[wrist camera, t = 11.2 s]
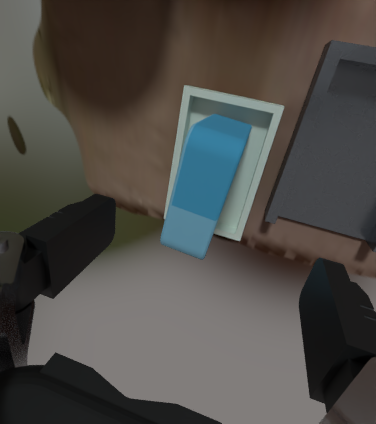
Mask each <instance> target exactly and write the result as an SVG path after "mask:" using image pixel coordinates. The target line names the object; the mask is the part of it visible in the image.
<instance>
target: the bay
mask: <svg viewBox="0 0 376 424" xmlns="http://www.w3.org/2000/svg"><path fill="white" fill-rule="evenodd" d="M278 216H281V217H284V218H288V219H291V220H295V221H299V222H302V223H306V224H309V225H313V226H317V227H320V228H324V229H327V230H331V231H335V232H338V233H342V234H345V235H349V236H353V237H356V238H360V239H363V240H366V242H367V243H368V245H369V246H370V248H371V249H372V251H373V252H376V47H370V46H364V45H358V44H352V43H346V42H340V41H334V40H331V41H330V42H329V43H327V44H326V45H325V47H324V50H323V52H322V55H321V58H320V61H319V63H318V66H317V69H316V72H315V74H314V77H313V80H312V83H311V85H310V88H309V91H308V94H307V96H306V99H305V102H304V105H303V107H302V110H301V113H300V116H299V118H298V121H297V124H296V127H295V129H294V132H293V135H292V138H291V140H290V143H289V146H288V149H287V152H286V154H285V157H284V160H283V163H282V165H281V168H280V171H279V174H278V176H277V179H276V182H275V185H274V187H273V190H272V193H271V196H270V198H269V201H268V204H267V207H266V209H265V221H267V222H270V223H274V224H275V222H276V220H277V217H278Z"/></svg>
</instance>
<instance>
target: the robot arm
mask: <svg viewBox="0 0 376 424" xmlns="http://www.w3.org/2000/svg"><path fill="white" fill-rule="evenodd" d="M115 212H116V203H115V200H114V199H113V198H110V197H107V196H103V195H99V194H94V195H92V196H90V197H89V198H87V199H85V200H84V201H82V202H77V203H74V204H70V205H67V206H66V207H64V208H62V209H60V210H59V211H58V212H55V213H53V214H52V215H50V217H46V218H45V219H43V220H41V221H39V222H38V223H36V224H34V225H32V226H31V227H29V228H27V229H25V230H24V231H22V232H20V233H15V232H8V231H2V232H0V424H222V423H220V422H218V421H216V420H213V419H211V418H209V417H206V416H204V415H202V414H199V413H197V412H194V411H192V410H190V409H188V408H185V407H183V406H180V405H178V404H173V403H163V402H154V401H146V400H138V399H130V398H127V397H125V396H124V395H123V394H122V393H121V392H119V391H118V390H117V389H116V388H115V387H114V386H112V385H111V384H110V383H109V382H108V381H107V380H105V379H104V378H103V377H102V376H101V375H100V374H99V373H97V372H96V371H95V370H94V369H93V368H91V367H88V366H86V365H84V364H82V363H79V362H77V361H74V360H72V359H70V358H67V357H65V356H63V355H60V354H58V353H55V354H54V355H53V356H52V357H51V358H50V360H49V361H48V362H47V363H46V364H45V365H28V366H27V354H28V347H29V340H30V334H31V328H32V320H33V314H34V309H35V301H34V299H35V298H36V297H37V296H38V295H39V294H42V295H44V296H47V297H50V298H52V299H54V298H55V297H56V296H57V295H58V294H59V293H60V292H61V291H62V290H63V289H64V288H65V287H66V286H67V285H68V284H69V283H70V282H71V281H72V280H73V279H74V278H75V277H76V276H77V275H79V274H80V273H81V272H82V271H83V270H84V269H85V268H86V267H87V266H88V265H89V264H90V263H91V262H92V261H93V260H94V259H95V258H96V257H97V256H98V255H99V254H100V253H101V252H102V251H103V250H105V249H106V248H107V247H108V246H109V244H110V243H111V242H112V240H113V237H114V234H115ZM299 312H300V320H301V328H302V337H303V345H304V353H305V362H306V370H307V378H308V387H309V395H310V398H311V399H314V400H316V401H319V402H322V403H324V404H325V406H326V412H327V414H326V415H325V417H324V418H323V419H322V420H321V422H320V423H319V424H376V312H375V311H374V308H373V305H372V303H371V301H370V299H369V297H368V295H367V294H366V293H365V292H364V291H363V290H362V289H361V287H360V286H359V285H358V284H357V283H354V282H351V281H350V279H349V276H348V274H347V271H346V269H345V267H344V265H343V264H340V263H337V262H333V261H330V260H326V259H323V258H319V259H317V261H316V262H315V264H314V266H313V268H312V270H311V272H310V274H309V276H308V279H307V280H306V283H305V285H304V287H303V289H302V291H301V294H300V298H299Z"/></svg>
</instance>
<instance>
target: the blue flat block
mask: <svg viewBox="0 0 376 424" xmlns="http://www.w3.org/2000/svg"><path fill="white" fill-rule="evenodd" d="M251 129H252V126H251V125H250V124H247V123H243V122H240V121H237V120H234V119H231V118H227V117H224V116H221V115H218V114H212V115H210V116H208V117H206V118H204V119H203V120H201V121H199V122H197V123H195V124H193V125H192V126H191V128H190V129H189V131H188V133H187V136H186V139H185V142H184V145H183V149H182V153H181V157H180V161H179V165H178V169H177V173H176V177H175V182H174V186H173V190H172V194H171V198H170V202H169V206H168V210H167V214H166V218H165V222H164V226H163V230H162V234H161V240H160V241H161V244H162V245H165V246H167V247H170V248H173V249H175V250H178V251H180V252H183V253H185V254H188V255H191V256H193V257H196V258H199V259H204V258H205V255H206V252H207V249H208V247H209V244H210V241H211V239H212V236H213V233H214V230H215V228H216V225H217V222H218V220H219V217H220V214H221V211H222V209H223V206H224V203H225V200H226V198H227V195H228V192H229V190H230V187H231V184H232V181H233V179H234V176H235V173H236V170H237V168H238V165H239V162H240V159H241V157H242V154H243V151H244V149H245V146H246V143H247V140H248V137H249V135H250V132H251Z"/></svg>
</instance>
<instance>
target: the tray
mask: <svg viewBox="0 0 376 424" xmlns="http://www.w3.org/2000/svg"><path fill="white" fill-rule="evenodd" d="M283 109H284V106H283V105H279V104H274V103H270V102H265V101H260V100H256V99H251V98H246V97H241V96H237V95H232V94H227V93H223V92H218V91H213V90H208V89H204V88H199V87H194V86H184V91H183V97H182V104H181V110H180V117H179V123H178V129H177V136H176V142H175V149H174V155H173V162H172V168H171V175H170V181H169V188H168V194H167V201H166V207H165V214H164V219H165V218H166V214H167V210H168V206H169V202H170V198H171V194H172V190H173V186H174V182H175V177H176V173H177V169H178V165H179V161H180V157H181V153H182V149H183V145H184V142H185V139H186V136H187V133H188V131H189V129H190V128H191V126H192V125H193V124H195V123H197V122H199V121H201V120H203V119H204V118H206V117H208V116H210V115H212V114H218V115H221V116H224V117H227V118H231V119H234V120H237V121H240V122H243V123H247V124H250V125H251V126H252V129H251V132H250V135H249V137H248V140H247V143H246V146H245V149H244V151H243V154H242V157H241V159H240V162H239V165H238V168H237V170H236V173H235V176H234V179H233V181H232V184H231V187H230V190H229V192H228V195H227V198H226V200H225V203H224V206H223V209H222V211H221V214H220V217H219V220H218V222H217V225H216V228H215V230H214V234H217V235H220V236H224V237H227V238H230V239H234V240H237V241H240V239H241V236H242V233H243V230H244V227H245V224H246V221H247V218H248V215H249V212H250V209H251V206H252V203H253V200H254V197H255V194H256V191H257V188H258V185H259V182H260V179H261V176H262V173H263V170H264V167H265V164H266V161H267V158H268V155H269V152H270V149H271V146H272V143H273V140H274V137H275V134H276V131H277V128H278V124H279V121H280V118H281V115H282V112H283Z"/></svg>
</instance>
